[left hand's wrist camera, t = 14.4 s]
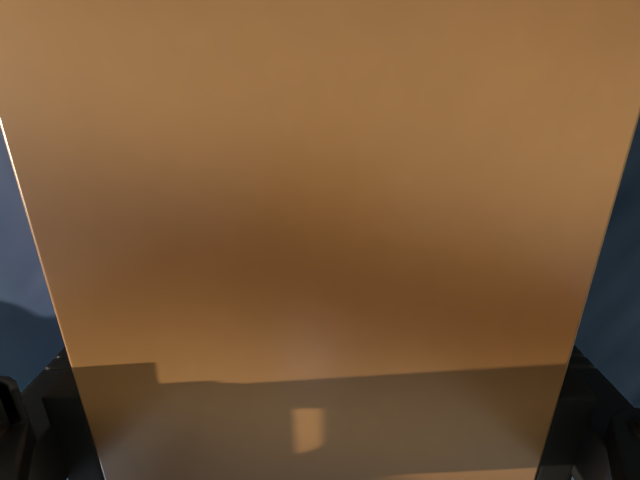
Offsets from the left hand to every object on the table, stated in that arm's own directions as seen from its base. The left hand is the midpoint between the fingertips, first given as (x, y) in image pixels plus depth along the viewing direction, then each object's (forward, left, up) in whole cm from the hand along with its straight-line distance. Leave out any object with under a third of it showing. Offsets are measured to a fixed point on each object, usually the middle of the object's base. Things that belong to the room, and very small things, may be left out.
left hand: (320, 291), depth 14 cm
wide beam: (+18, +13, -1) cm, 22 cm away
